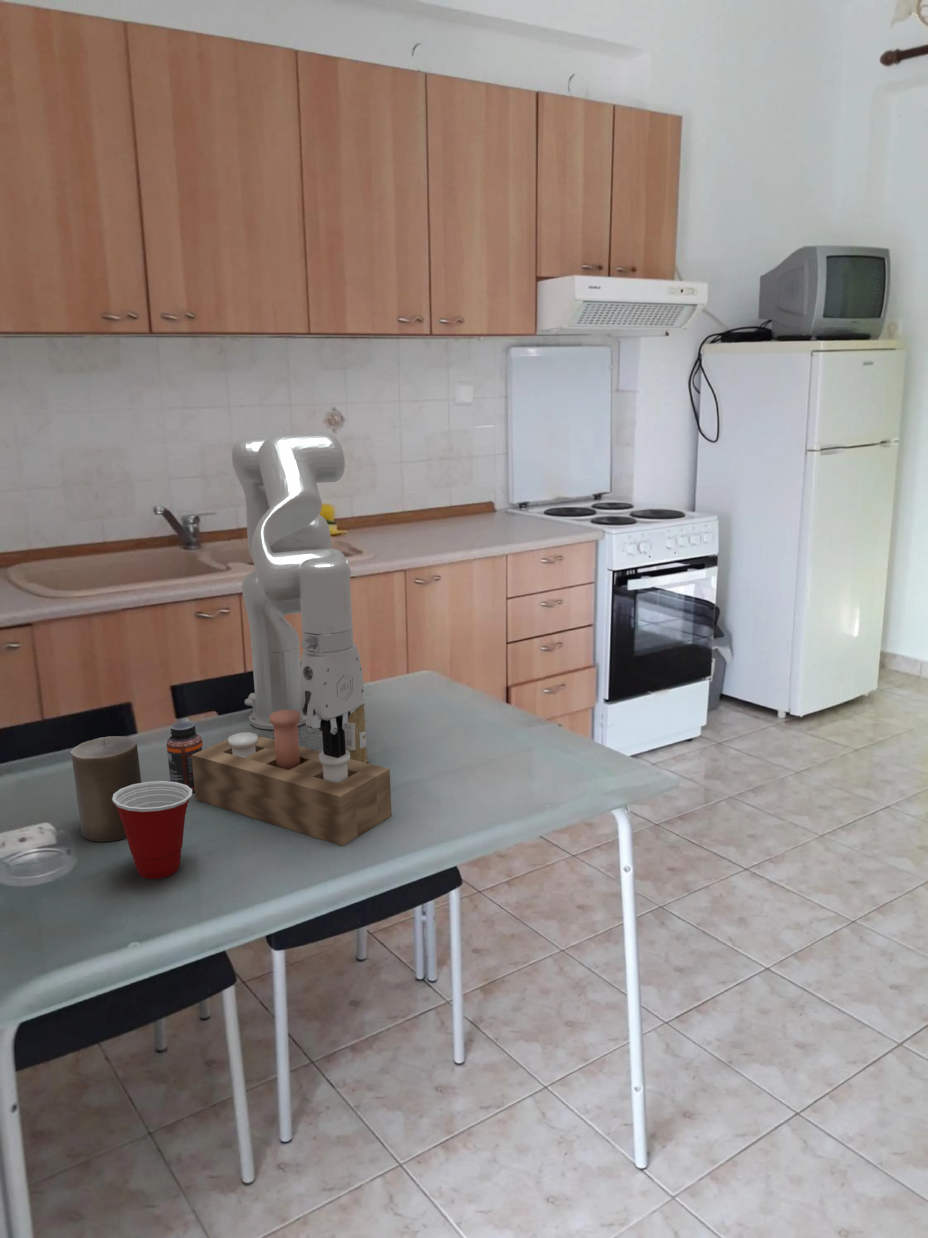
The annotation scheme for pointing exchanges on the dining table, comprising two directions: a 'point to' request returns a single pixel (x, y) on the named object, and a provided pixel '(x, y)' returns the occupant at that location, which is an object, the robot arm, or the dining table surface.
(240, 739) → the grey plug
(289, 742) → the brick plug
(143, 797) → the plastic cup
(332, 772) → the grey plug
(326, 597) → the robot arm
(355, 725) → the sprinkles bottle
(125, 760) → the pillar candle
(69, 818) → the dining table surface
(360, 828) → the socket board
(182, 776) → the supplement bottle
